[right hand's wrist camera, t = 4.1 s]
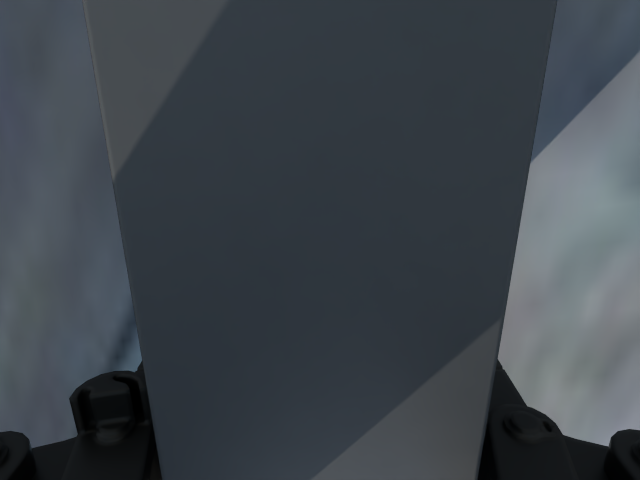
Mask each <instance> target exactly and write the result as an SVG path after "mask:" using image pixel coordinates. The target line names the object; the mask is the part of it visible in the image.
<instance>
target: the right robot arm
mask: <svg viewBox="0 0 640 480" xmlns="http://www.w3.org/2000/svg"><path fill="white" fill-rule="evenodd" d="M69 400H70V404H71V408H72V412H73V416H74V420H75V424H76V428H77V432H78V435H77V437H75V438H71V439H68V440H65V441H61V442H57V443H53V444H49V445H44V446H40V447H36V448H31V445H30V441H29V439H28V438H27V437H26V436H25V435H24V434H23V433H19V432H13V431H7V432H0V480H162V475H161V469H160V463H159V457H158V451H157V445H156V439H155V433H154V427H153V421H152V415H151V409H150V403H149V397H148V391H147V385H146V379H145V373H144V367H143V361H142V362H141V363H140V365H139V367H138V370H137V371H136V372H131V371H113V372H109V373H105V374H101V375H99V376H96V377H94V378H92V379H90V380H88V381H86V382H85V383H83V384H82V385H81V386H79V387H78V388H77V389H76V390H75V391H74V393H73V394H72V395H71V397H70V398H69ZM477 480H640V430H632V429H628V430H622V431H618V432H617V433H615V434H614V435H613V436H612V437H611V440H610V443H609V447H608V446H603V445H599V444H595V443H591V442H586V441H582V440H578V439H574V438H571V437H568V436H565V435H563V434H562V433H561V431H560V429H559V428H558V426H557V425H556V423H555V422H553V421H552V420H551V419H550V418H549V417H548V416H546V415H545V414H543V413H541V412H539V411H537V410H535V409H533V408H531V407H527V405H526V404H525V402H524V401H523V399H522V397H521V396H520V394H519V393H518V391H517V389H516V388H515V386H514V385H513V383H512V381H511V380H510V378H509V377H508V375H507V373H506V372H505V370H503V369H502V365H501V364H500V362H499V361H498V359H497V364H496V370H495V376H494V382H493V388H492V394H491V400H490V406H489V412H488V418H487V424H486V430H485V436H484V442H483V448H482V454H481V460H480V466H479V472H478V478H477Z"/></svg>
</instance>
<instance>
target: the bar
mask: <svg viewBox="0 0 640 480" xmlns="http://www.w3.org/2000/svg"><path fill="white" fill-rule="evenodd" d="M82 2H83V8H84V14H85V20H86V26H87V32H88V38H89V44H90V50H91V56H92V62H93V68H94V74H95V80H96V86H97V92H98V98H99V104H100V109H101V115H102V121H103V127H104V133H105V139H106V145H107V151H108V157H109V163H110V169H111V175H112V181H113V187H114V193H115V199H116V205H117V211H118V217H119V223H120V229H121V235H122V241H123V247H124V253H125V259H126V265H127V271H128V277H129V283H130V289H131V295H132V301H133V307H134V313H135V319H136V325H137V331H138V337H139V343H140V349H141V355H142V361H143V367H144V373H145V379H146V385H147V391H148V397H149V403H150V409H151V415H152V421H153V427H154V433H155V439H156V445H157V451H158V457H159V463H160V469H161V475H162V480H477V478H478V472H479V466H480V460H481V454H482V448H483V442H484V436H485V430H486V424H487V418H488V412H489V406H490V400H491V394H492V388H493V382H494V376H495V370H496V364H497V358H498V352H499V346H500V340H501V334H502V328H503V322H504V316H505V310H506V304H507V298H508V292H509V286H510V280H511V274H512V268H513V262H514V256H515V250H516V244H517V238H518V232H519V226H520V220H521V214H522V208H523V202H524V196H525V190H526V185H527V179H528V173H529V167H530V161H531V155H532V149H533V143H534V137H535V131H536V125H537V119H538V113H539V107H540V101H541V95H542V89H543V83H544V77H545V71H546V65H547V59H548V53H549V47H550V41H551V35H552V29H553V23H554V17H555V11H556V5H557V0H82Z"/></svg>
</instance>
